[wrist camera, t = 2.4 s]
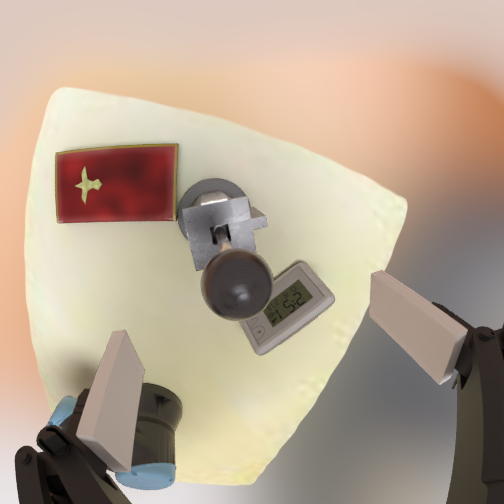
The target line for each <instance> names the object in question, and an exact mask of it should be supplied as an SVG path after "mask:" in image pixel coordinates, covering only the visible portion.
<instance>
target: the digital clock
mask: <svg viewBox="0 0 504 504" xmlns="http://www.w3.org/2000/svg"><path fill="white" fill-rule="evenodd" d="M334 302H335V297H334V295H333V293H332V292H331V291H330V290H329V288H328V287H327V286H326V285H325V284H324V283H323V282H322V281H321V279H320V278H319V277H318V276H317V275H316V274H315V273H314V272H313V271H312V269H311V268H310V267H309V266H308V265H307V264H306V263H304V262H300V263H297V264H296V265H294V266H293V267H292V268H290V269H289V270H288V271H286V272H285V273H284V274H282V275H281V276H280V277H278V278H277V279H276V280H275V281H274V290H273V295H272V298H271V300H270V302H269V304H268V305H267V307H266V308H265V309H264V310H263V311H262V312H261V313H260V314H258V315H257V316H255V317H253V318H251V319H248V320H243V321H239V322H240V324H241V326H242V328H243V330H244V332H245V334H246V336H247V338H248V340H249V342H250V344H251V346H252V348H253V349H254V351H255V353H256V354H257V355H264V354H266V353H268V352H269V351H271V350H272V349H274V348H275V347H277V346H278V345H280V344H282V343H283V342H285V341H286V340H287V339H289V338H290V337H292V336H293V335H294V334H296V333H297V332H298V331H300V330H301V329H303V328H304V327H305V326H307V325H308V324H309V323H311V322H312V321H313V320H315V319H316V318H317V317H318V316H319V315H320V314H322V313H323V312H324V311H325V310H327V309H328V308H329V307H330V306H331V305H332V304H333V303H334Z"/></svg>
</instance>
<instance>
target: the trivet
mask: <svg viewBox="0 0 504 504" xmlns="http://www.w3.org/2000/svg"><path fill="white" fill-rule="evenodd" d="M209 190H221V191H224V192H226V193H228V194H230V195H231V196H232V197H233V198H237V197H243V196H246V195H245V194H244V192H243V191H242V190H241V189H240V188H239V187H238V186H236V185H235V184H233V183H231V182H229V181H227V180H223V179H207V180H203V181H201V182H198V183H197V184H195V185H193V186H192V187H191V188H190V189H189V190H188V191H187V192H186V193H185V195H184V196H183V198H182V200H181V202H180V205H179V209H178V223H179V226H180V229H181V231H182V233H183V235H184V236H185V238H186V239H187V240H188V236H187V231H186V226H185V221H184V217H183V212H182V209H184V208H189V207H191V204H192V203H193V201H194V200H195V199H196V198H197V197H198V196H199V195H200V194H202V193H204V192H206V191H209ZM248 205H249V208H251V207H250V203H249V201H248ZM188 241H189V240H188Z"/></svg>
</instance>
